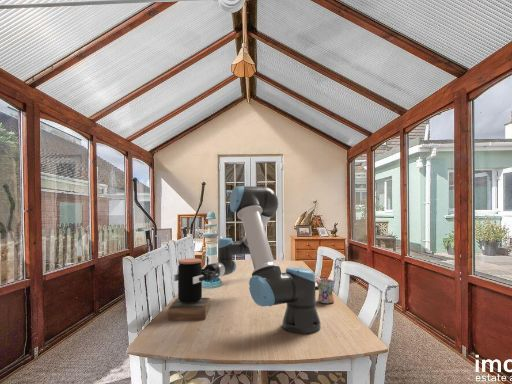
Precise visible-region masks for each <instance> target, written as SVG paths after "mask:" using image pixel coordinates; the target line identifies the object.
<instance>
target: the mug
mask: <svg viewBox="0 0 512 384" xmlns="http://www.w3.org/2000/svg"><path fill="white" fill-rule="evenodd" d="M316 282H317V285H318V287H317V289H318V296H317V299H316V300H317V301H316V302H319V303H321V304H333V303H334V302H335V299H334V295H333V289H334V284H335V283H336V281H335V280H334V279H328V278H322V279H321V278H320V279H318V280H316Z"/></svg>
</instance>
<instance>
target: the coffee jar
mask: <svg viewBox="0 0 512 384" xmlns="http://www.w3.org/2000/svg"><path fill="white" fill-rule="evenodd" d="M202 260H203V259H201V258H193V257H191V258H182V259H179V260H178V261H177V262H178V267H177V274H178V281H177V288H178V289H177V298H178V299H179V300H180V301H181V302H185V303H191V302H196V301H199V300H200V299H201V298H203V291H202V290H203V287H202V286H203V285H202V284H203V281H202V282H198V283H195V284H193V277H196V276H200V275H202V269H203V268H202V267H203V266H202Z"/></svg>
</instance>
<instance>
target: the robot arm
mask: <svg viewBox="0 0 512 384" xmlns="http://www.w3.org/2000/svg"><path fill="white" fill-rule="evenodd" d="M278 206H279V199H278V196H277V193H275V191H274V190H273V189H271V187H270V188H269V187H267V186H264V185H263V186H262V185H261V186H256V185H255V186H249V185H248V186H247V185H246V186H245V185H240V186H238V185H237V186H235V187H234V188H233V189H232V190H231V193H230V198H229V209H230V212H231V213H232V212H233V213H236V216H237V218H238V220H241V222H242V226H243V230H244V237H243V239H242V240H233V238H232V237H221V238H219V239H218V241H217V254H218V255H217V256H218V257H217V259H218V260H217V262H213V263H209V264H206V265H205V267H204V268H202V275H200V276H196V277H193V284H195V283H198V282H202V283H203V282H204V281H205V282H206V281H208V282H211V281H212V280H215V279H219V278H220V277H224V276H228V275H231V274H233V273H234V272H235V271H236V269H237V264H236V262H235V260H233V256H244V255H250V257H251V262H252V265H253V272H251V277H249V281H248V286H249V294H250V296H251V299H252V300H253V302H254V303H255V304H256V305H257V306H259V307H273V306H276V305H277V306H278V305H283V304H286V308H285V310H284V311H285V312H284V314H283V318H282V328H283V329H285V330H286V332H287V331H288V332H290V333H294V334H312V333H316V332H319V331H320V330H321V320H320V316H319V313H318V312H317V307H316V306H317V305H316V303H317V301H316V300H317V299H316V287H315V283H316V281H315V277H316V274H315V272H314V271H313V270H311V269H307V268H302V267H301V268H300V267H286V269H285V272H282V269H281V268H280V266H279V265H278V264H277V263H275V259H274V256H273V253H272V250H271V246H270V243H269V240H268V235H267V231H266V227H267V225H268V223H269V222H270V220H271V218H272V217H274V216H275V215H276V213H277V211H278V208H279V207H278ZM173 281H174V282H178V273H177V274H174V275H173Z"/></svg>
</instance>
